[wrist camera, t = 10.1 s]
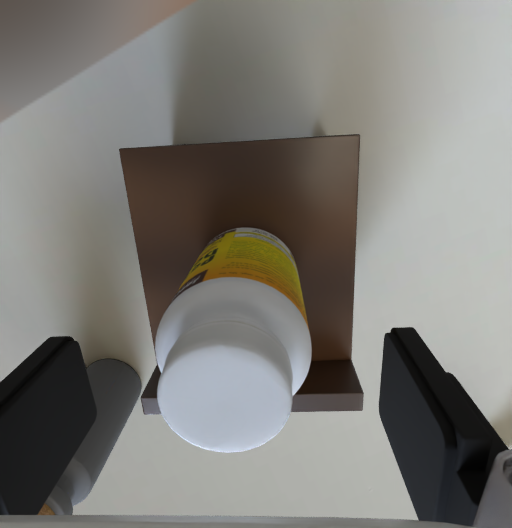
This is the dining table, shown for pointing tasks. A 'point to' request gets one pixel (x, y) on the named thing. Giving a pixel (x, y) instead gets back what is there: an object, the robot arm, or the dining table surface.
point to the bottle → (96, 433)
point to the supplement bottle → (234, 344)
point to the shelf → (264, 218)
